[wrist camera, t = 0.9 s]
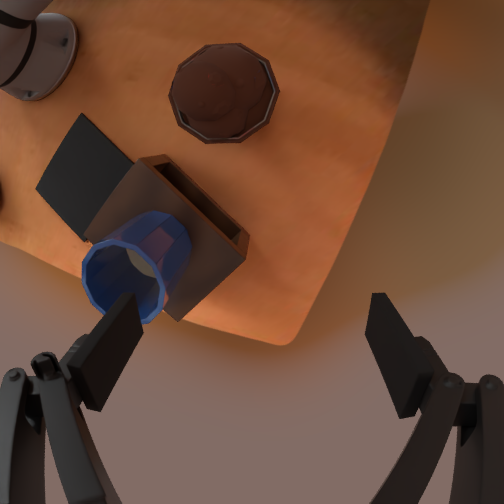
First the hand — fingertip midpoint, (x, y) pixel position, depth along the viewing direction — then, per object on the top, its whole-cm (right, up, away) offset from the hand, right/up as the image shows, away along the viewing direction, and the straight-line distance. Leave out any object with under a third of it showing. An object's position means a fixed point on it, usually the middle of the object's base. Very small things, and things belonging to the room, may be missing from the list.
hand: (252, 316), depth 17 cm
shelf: (-10, +7, +26) cm, 29 cm away
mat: (-25, +14, +24) cm, 38 cm away
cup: (-11, +4, +17) cm, 21 cm away
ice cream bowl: (-2, +22, +20) cm, 30 cm away
